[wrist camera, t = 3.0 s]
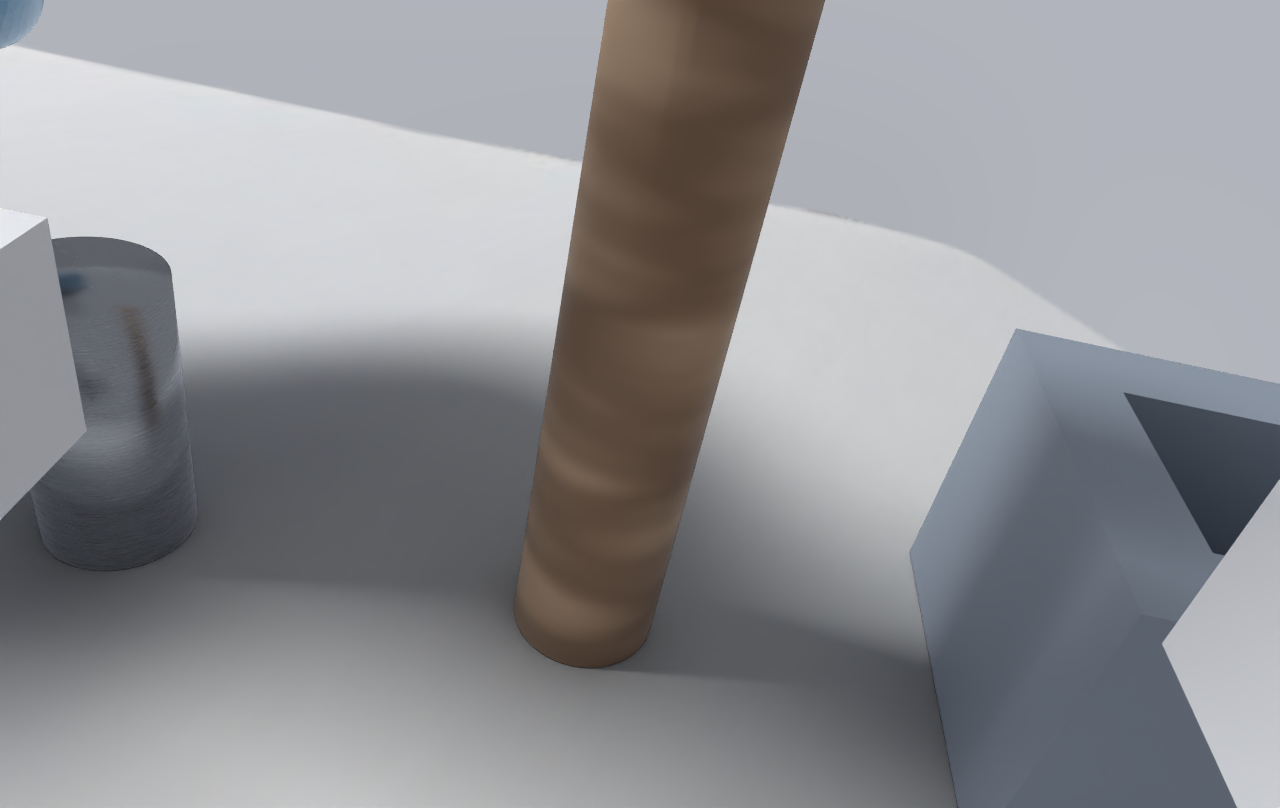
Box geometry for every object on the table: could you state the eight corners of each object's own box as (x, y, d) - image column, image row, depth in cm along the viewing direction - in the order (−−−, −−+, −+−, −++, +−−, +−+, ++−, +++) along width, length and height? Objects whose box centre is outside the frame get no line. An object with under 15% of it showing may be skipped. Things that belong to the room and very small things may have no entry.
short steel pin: (9, 554, 26) (-62, 299, 22) (91, 463, 30) (46, 224, 25) (155, 583, 26) (117, 335, 22) (222, 489, 30) (200, 256, 25)
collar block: (967, 860, 24) (1142, 614, 19) (909, 552, 33) (1016, 328, 28) (1395, 943, 24) (1681, 724, 19) (1222, 615, 33) (1384, 406, 28)
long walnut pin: (500, 651, 27) (650, -351, 14) (528, 550, 30) (669, -336, 17) (644, 680, 27) (921, -289, 14) (656, 576, 30) (890, -285, 17)
